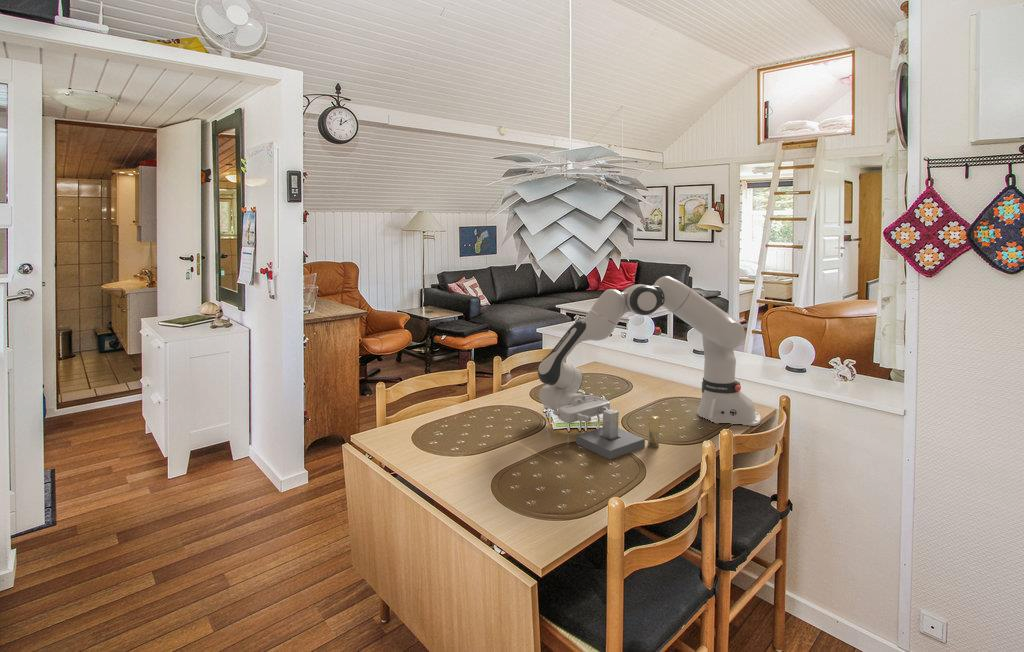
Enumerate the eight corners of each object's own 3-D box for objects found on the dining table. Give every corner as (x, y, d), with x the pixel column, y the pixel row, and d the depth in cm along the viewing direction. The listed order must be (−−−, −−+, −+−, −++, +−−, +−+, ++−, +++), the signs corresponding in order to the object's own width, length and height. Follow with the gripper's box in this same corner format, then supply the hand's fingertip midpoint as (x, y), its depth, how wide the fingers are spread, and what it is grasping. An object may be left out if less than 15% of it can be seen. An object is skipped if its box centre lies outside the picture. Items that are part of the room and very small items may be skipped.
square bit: (602, 444, 190) (603, 410, 188) (610, 442, 192) (610, 408, 190) (610, 448, 187) (610, 413, 185) (617, 445, 189) (618, 411, 187)
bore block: (576, 443, 192) (576, 435, 191) (610, 432, 201) (610, 424, 200) (609, 459, 179) (609, 450, 178) (644, 447, 188) (645, 438, 187)
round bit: (659, 445, 189) (660, 416, 187) (657, 449, 186) (658, 420, 184) (648, 443, 191) (649, 415, 189) (646, 447, 188) (647, 418, 186)
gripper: (550, 403, 197) (576, 414, 185) (593, 392, 208) (621, 401, 197) (550, 420, 198) (576, 432, 187) (593, 408, 209) (620, 419, 198)
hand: (599, 416), depth 192 cm, fingers open, 8 cm apart
